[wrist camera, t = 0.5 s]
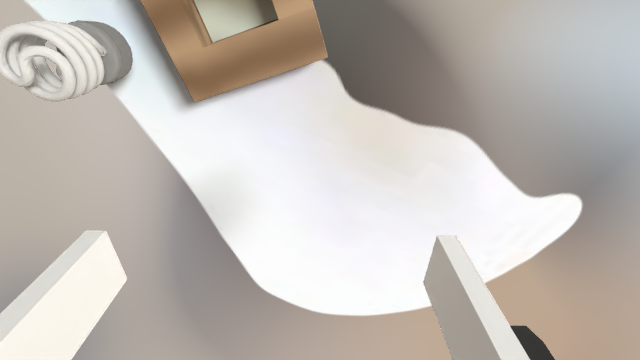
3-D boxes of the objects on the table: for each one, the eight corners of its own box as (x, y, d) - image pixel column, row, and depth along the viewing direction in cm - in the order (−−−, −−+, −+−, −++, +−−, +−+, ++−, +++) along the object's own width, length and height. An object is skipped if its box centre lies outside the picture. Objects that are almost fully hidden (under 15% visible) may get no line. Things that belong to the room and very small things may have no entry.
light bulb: (123, 7, 29) (15, 6, 19) (160, 63, 32) (83, 89, 21) (80, 32, 30) (-46, 45, 20) (119, 84, 33) (26, 119, 22)
